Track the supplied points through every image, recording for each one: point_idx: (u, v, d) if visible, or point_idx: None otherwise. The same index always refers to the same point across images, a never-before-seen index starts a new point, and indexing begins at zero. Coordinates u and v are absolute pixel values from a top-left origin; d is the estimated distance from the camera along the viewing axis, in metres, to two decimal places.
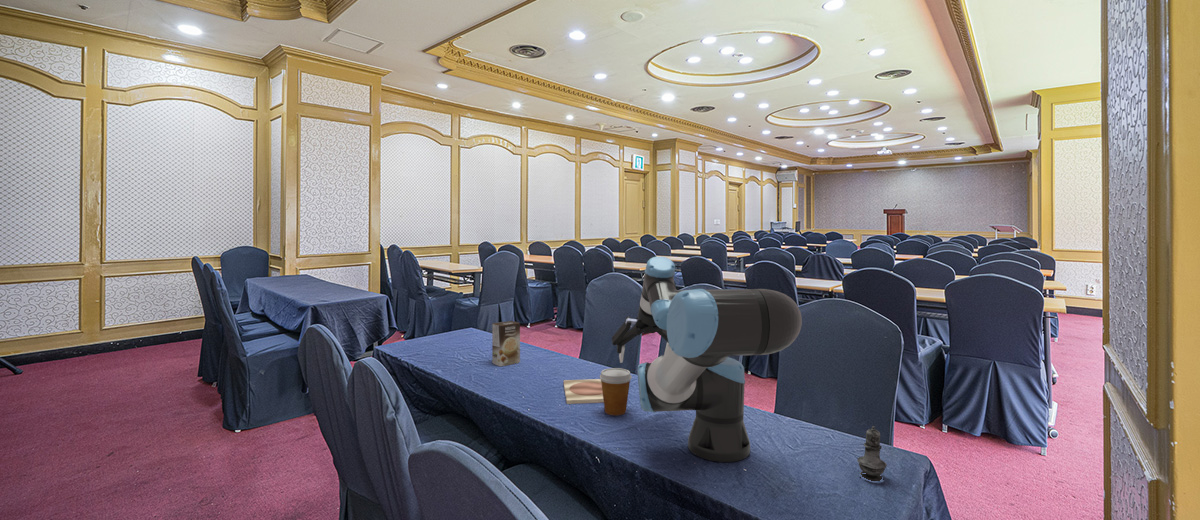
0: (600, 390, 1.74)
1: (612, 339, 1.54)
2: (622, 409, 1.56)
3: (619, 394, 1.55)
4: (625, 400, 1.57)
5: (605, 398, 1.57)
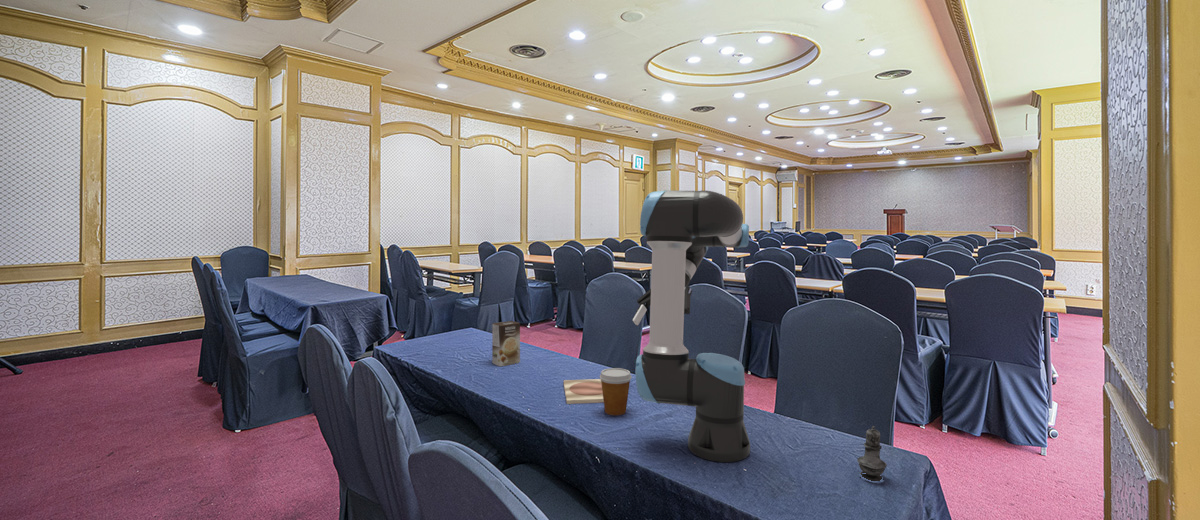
0: (600, 390, 1.74)
1: None
2: (622, 409, 1.56)
3: (619, 394, 1.55)
4: (625, 400, 1.57)
5: (605, 398, 1.57)
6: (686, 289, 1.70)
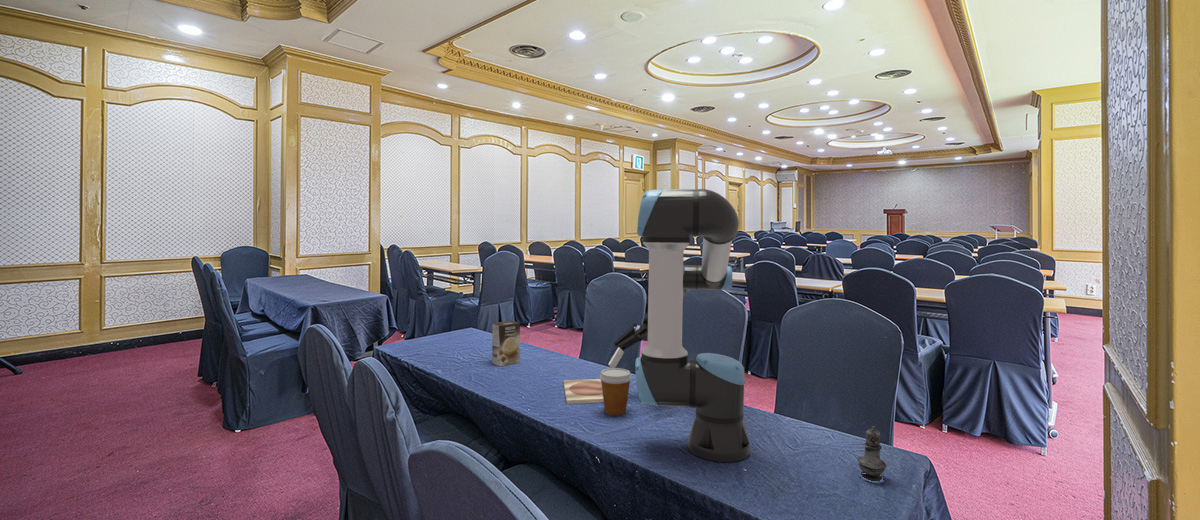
0: (600, 390, 1.74)
1: None
2: (622, 409, 1.56)
3: (619, 394, 1.55)
4: (625, 400, 1.57)
5: (605, 398, 1.57)
6: None
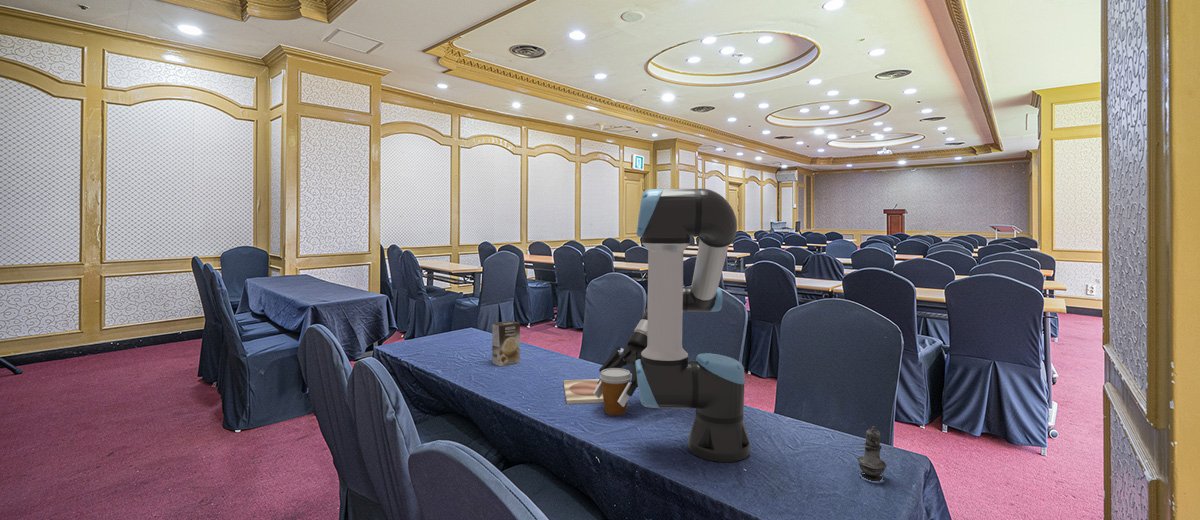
0: None
1: None
2: (622, 409, 1.56)
3: (619, 394, 1.55)
4: None
5: (605, 398, 1.57)
6: None
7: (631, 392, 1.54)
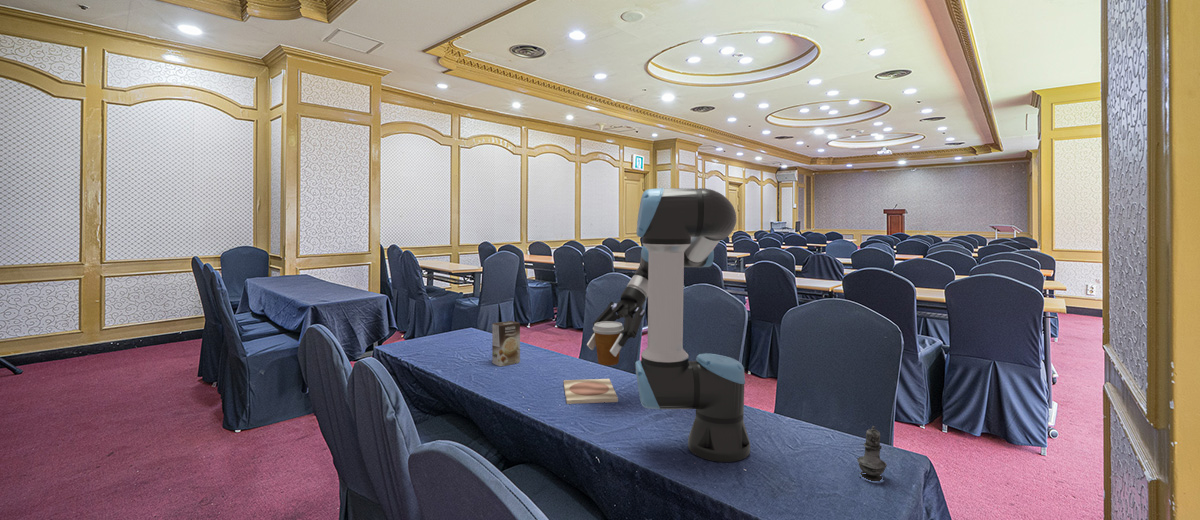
0: (600, 390, 1.74)
1: None
2: (614, 359, 1.62)
3: (612, 345, 1.61)
4: None
5: (598, 349, 1.62)
6: (638, 310, 1.64)
7: (623, 342, 1.59)
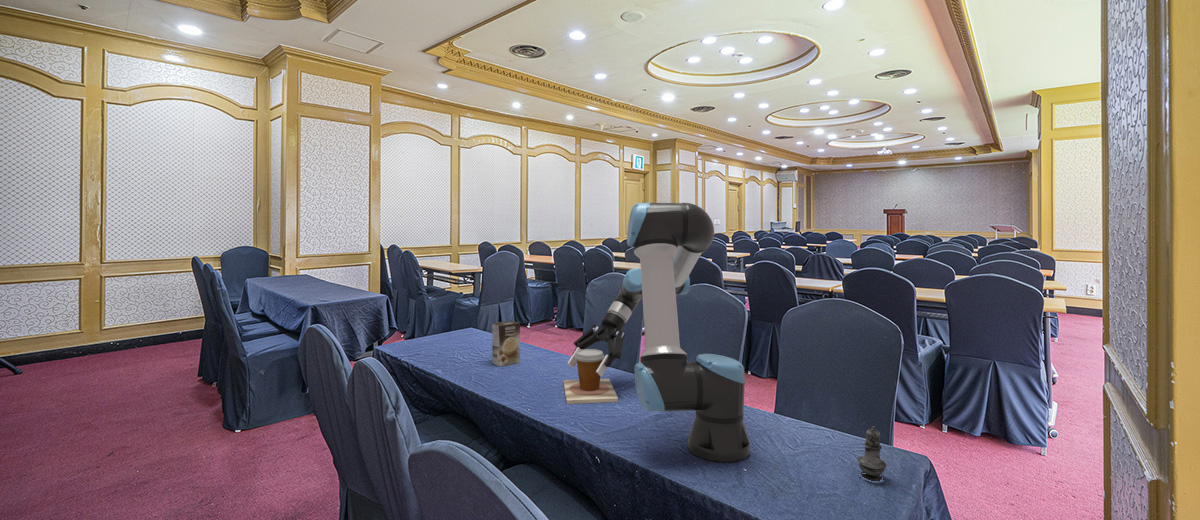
0: (600, 390, 1.74)
1: None
2: (595, 385, 1.74)
3: (592, 372, 1.72)
4: (598, 377, 1.74)
5: (580, 375, 1.74)
6: (619, 333, 1.75)
7: (608, 363, 1.70)
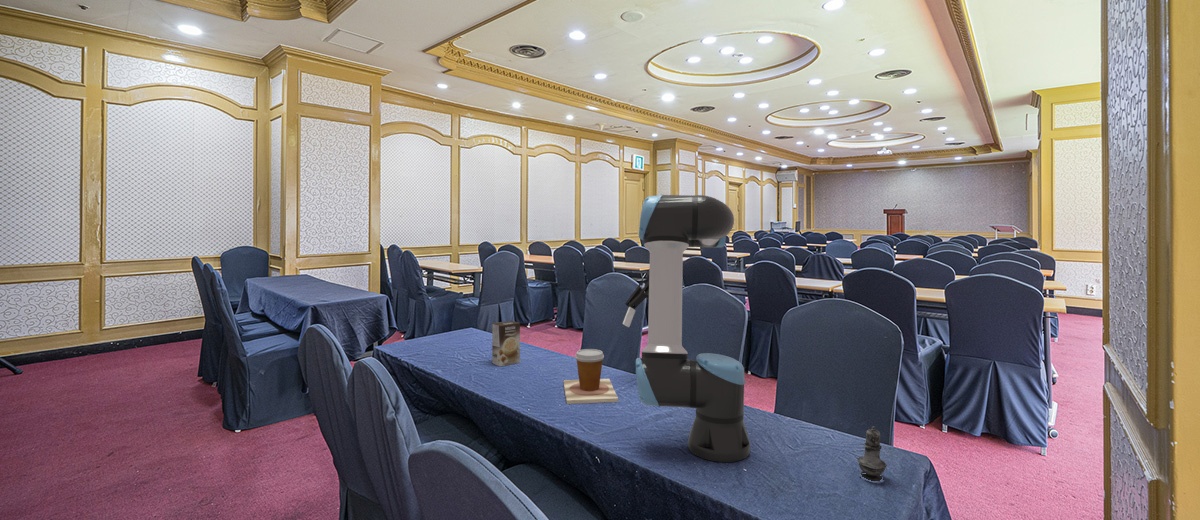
0: (600, 390, 1.74)
1: None
2: (595, 385, 1.74)
3: (592, 372, 1.72)
4: (598, 377, 1.74)
5: (580, 375, 1.74)
6: None
7: None
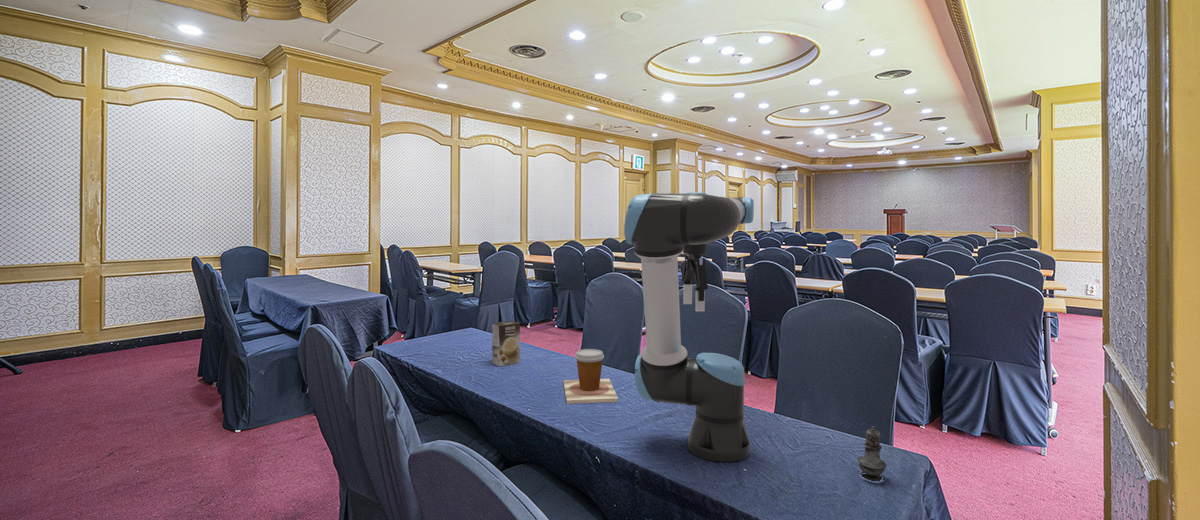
0: (600, 390, 1.74)
1: None
2: (595, 385, 1.74)
3: (592, 372, 1.72)
4: (598, 377, 1.74)
5: (580, 375, 1.74)
6: (696, 263, 1.64)
7: (701, 298, 1.63)
